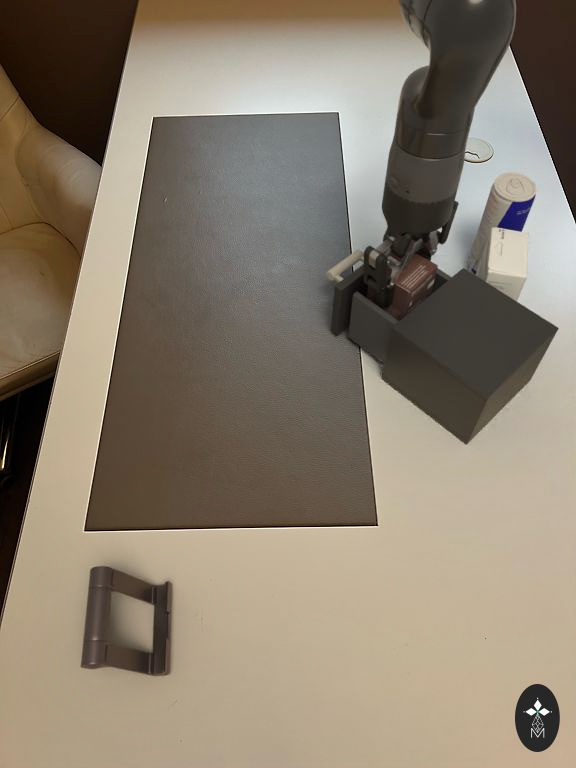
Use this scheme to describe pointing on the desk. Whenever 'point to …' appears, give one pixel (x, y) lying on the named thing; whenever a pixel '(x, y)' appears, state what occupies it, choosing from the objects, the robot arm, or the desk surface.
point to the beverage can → (503, 211)
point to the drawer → (363, 307)
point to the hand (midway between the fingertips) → (400, 287)
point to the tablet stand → (98, 616)
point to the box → (409, 286)
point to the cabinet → (465, 353)
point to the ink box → (505, 261)
